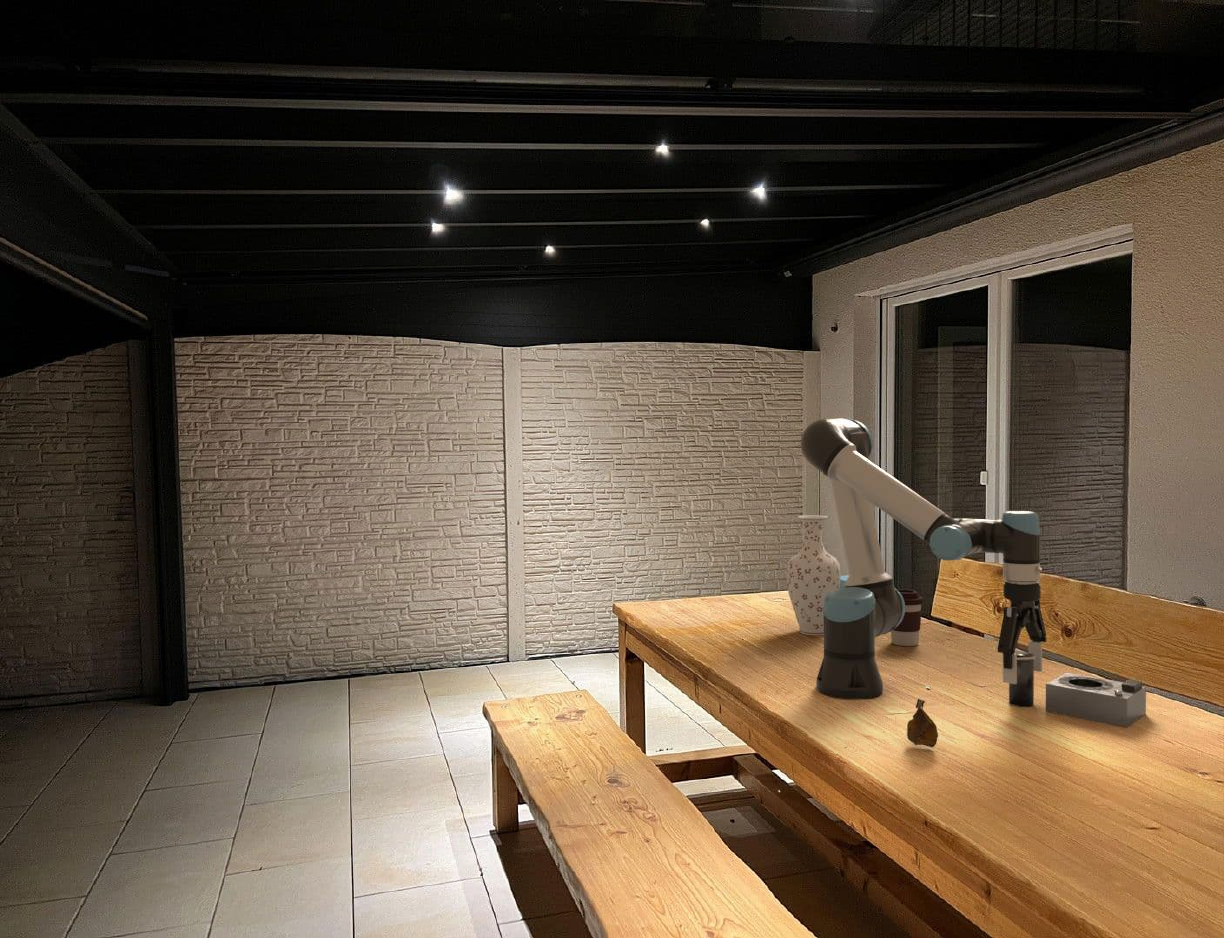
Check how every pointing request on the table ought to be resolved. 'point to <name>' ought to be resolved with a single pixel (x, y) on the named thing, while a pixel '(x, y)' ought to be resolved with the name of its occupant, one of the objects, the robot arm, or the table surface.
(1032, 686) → the lens
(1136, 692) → the grey block with hole
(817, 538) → the vase
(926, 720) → the chicken drumstick
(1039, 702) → the table surface
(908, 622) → the coffee cup
